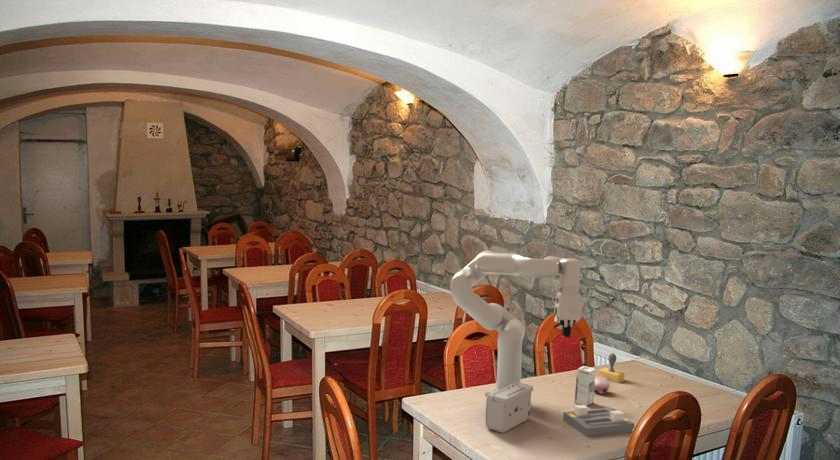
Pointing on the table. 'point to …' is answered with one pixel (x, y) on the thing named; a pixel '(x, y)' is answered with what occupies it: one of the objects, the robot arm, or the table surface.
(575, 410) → the back tab
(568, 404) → the table surface
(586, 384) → the syrup box
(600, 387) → the apple
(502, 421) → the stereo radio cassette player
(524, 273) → the robot arm
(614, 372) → the rubber stamp
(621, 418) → the front tab
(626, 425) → the switch panel
